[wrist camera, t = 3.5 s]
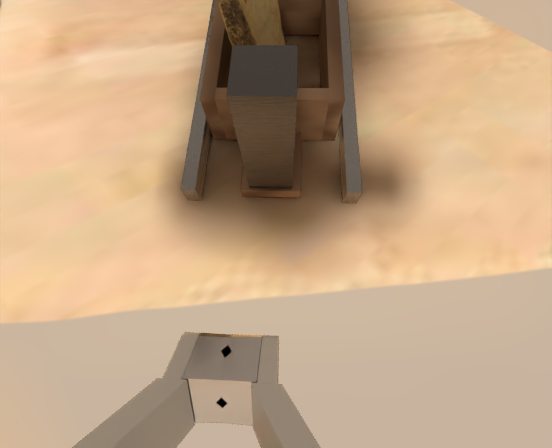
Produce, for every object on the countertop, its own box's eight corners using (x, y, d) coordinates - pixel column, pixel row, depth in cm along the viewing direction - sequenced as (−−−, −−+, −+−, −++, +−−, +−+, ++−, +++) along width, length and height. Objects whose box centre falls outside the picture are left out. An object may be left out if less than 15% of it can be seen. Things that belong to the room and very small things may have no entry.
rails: (188, 199, 25) (180, 189, 23) (222, -16, 36) (218, -35, 34) (356, 203, 25) (362, 192, 23) (340, -18, 35) (343, -37, 33)
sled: (206, 195, 25) (150, 98, 15) (229, 27, 32) (202, -117, 22) (337, 198, 25) (375, 99, 14) (329, 26, 32) (351, -121, 22)
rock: (249, 8, 31) (188, 54, 27) (298, -65, 23) (225, -17, 19) (310, 92, 35) (265, 143, 31) (367, 52, 27) (318, 112, 23)
